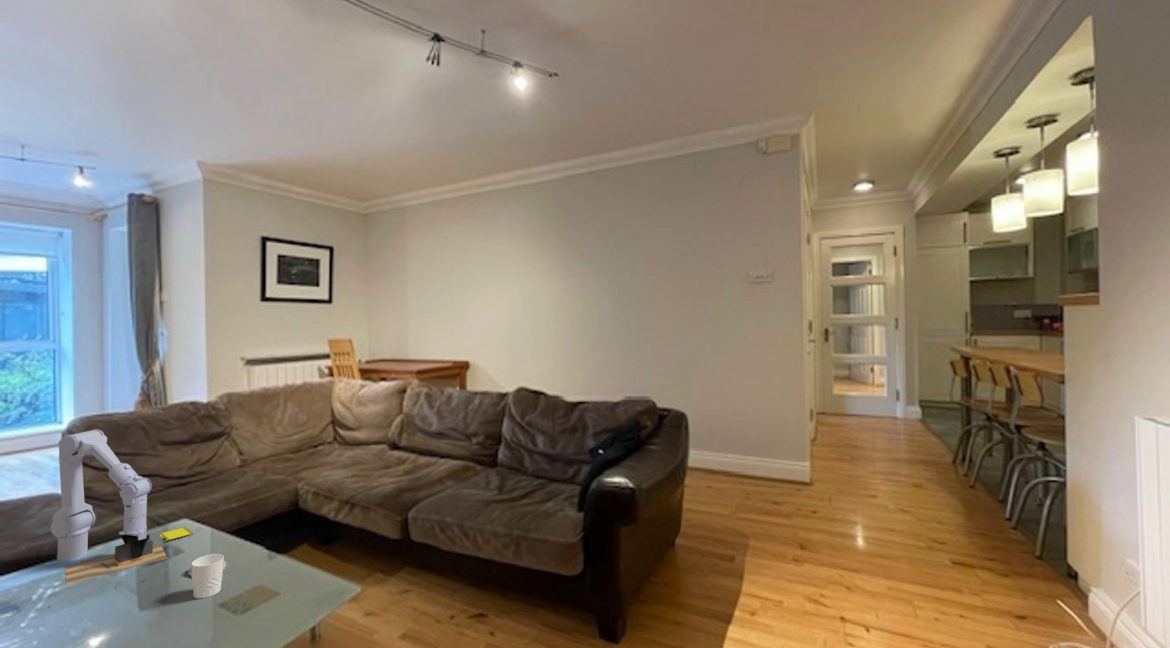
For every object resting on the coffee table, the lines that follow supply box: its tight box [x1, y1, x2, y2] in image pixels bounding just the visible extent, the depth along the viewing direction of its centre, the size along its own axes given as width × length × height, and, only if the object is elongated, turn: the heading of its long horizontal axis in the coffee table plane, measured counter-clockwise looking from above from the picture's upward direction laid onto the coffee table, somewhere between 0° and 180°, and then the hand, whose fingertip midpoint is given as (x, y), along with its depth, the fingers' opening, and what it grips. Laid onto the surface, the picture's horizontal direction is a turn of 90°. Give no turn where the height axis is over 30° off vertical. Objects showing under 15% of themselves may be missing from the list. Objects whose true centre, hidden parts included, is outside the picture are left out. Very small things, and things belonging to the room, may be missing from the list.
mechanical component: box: [188, 552, 227, 577], centre depth 163 cm, size 10×4×10 cm
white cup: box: [191, 553, 225, 599], centre depth 150 cm, size 8×8×10 cm
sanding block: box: [114, 538, 154, 565], centre depth 168 cm, size 5×9×5 cm, turn 148°
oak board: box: [64, 543, 169, 585], centre depth 165 cm, size 16×24×1 cm, turn 138°
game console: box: [152, 526, 194, 544], centre depth 186 cm, size 18×11×2 cm, turn 146°
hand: (134, 555), depth 168 cm, fingers closed on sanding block, 5 cm apart
